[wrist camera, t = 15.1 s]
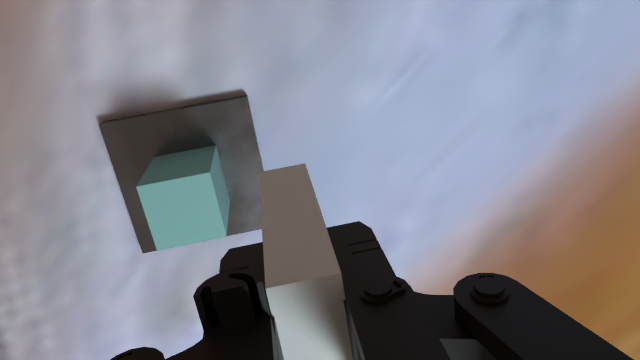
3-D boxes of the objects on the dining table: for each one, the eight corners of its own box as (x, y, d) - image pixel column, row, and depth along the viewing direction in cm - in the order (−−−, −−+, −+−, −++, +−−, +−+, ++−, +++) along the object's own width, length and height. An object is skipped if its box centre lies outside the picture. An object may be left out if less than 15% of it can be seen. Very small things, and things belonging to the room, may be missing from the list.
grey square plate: (101, 122, 39) (75, 143, 33) (247, 95, 40) (246, 111, 34) (144, 248, 44) (128, 287, 38) (274, 222, 44) (278, 256, 39)
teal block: (153, 157, 40) (136, 186, 34) (216, 145, 40) (209, 172, 34) (170, 212, 42) (156, 250, 36) (229, 200, 42) (226, 236, 36)
